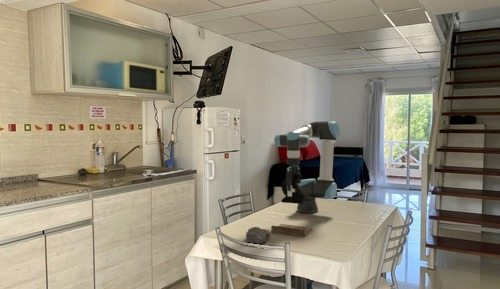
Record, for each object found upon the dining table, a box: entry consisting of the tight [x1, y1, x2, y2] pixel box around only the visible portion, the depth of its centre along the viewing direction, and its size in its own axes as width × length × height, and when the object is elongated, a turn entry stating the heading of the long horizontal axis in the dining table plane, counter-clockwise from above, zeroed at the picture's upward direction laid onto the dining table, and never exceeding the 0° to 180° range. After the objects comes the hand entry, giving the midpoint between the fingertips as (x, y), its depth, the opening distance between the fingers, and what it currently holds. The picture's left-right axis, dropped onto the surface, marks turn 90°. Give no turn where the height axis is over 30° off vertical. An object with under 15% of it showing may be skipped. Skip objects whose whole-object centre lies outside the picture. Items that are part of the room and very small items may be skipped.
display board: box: [270, 223, 313, 238], centre depth 216 cm, size 15×20×4 cm
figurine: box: [281, 172, 305, 205], centre depth 222 cm, size 14×9×20 cm, turn 70°
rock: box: [245, 226, 271, 245], centre depth 201 cm, size 13×6×15 cm
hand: (293, 195), depth 222 cm, fingers closed on figurine, 9 cm apart
